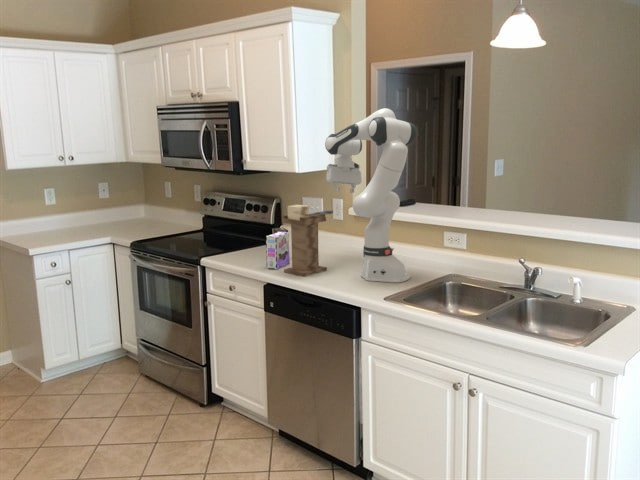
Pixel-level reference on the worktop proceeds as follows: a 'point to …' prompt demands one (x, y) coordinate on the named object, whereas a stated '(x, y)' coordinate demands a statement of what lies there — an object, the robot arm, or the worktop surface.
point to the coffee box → (279, 230)
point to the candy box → (277, 250)
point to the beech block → (303, 212)
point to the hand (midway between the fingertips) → (344, 192)
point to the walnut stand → (305, 245)
